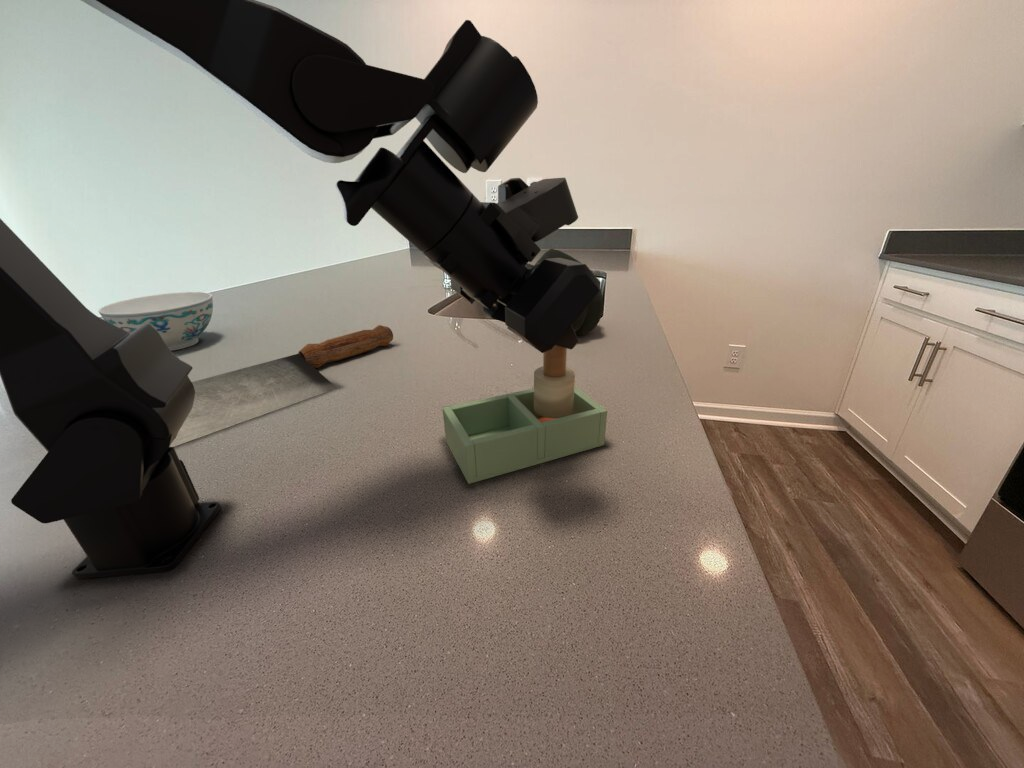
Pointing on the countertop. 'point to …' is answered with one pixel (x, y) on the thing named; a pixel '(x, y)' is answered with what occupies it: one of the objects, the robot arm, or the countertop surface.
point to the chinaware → (164, 316)
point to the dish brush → (554, 385)
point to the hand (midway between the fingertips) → (567, 341)
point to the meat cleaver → (270, 384)
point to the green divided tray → (518, 433)
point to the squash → (594, 308)
